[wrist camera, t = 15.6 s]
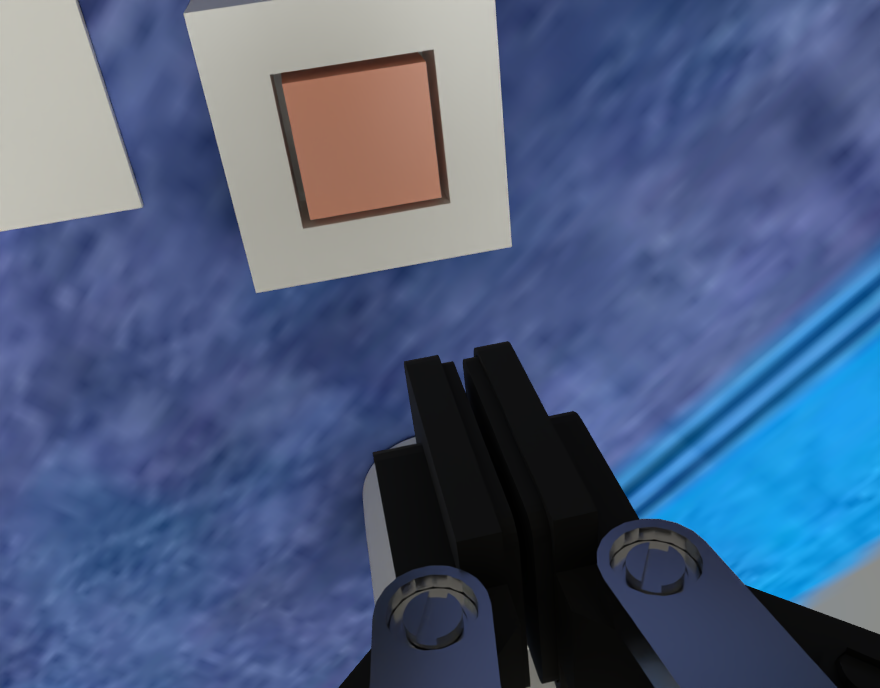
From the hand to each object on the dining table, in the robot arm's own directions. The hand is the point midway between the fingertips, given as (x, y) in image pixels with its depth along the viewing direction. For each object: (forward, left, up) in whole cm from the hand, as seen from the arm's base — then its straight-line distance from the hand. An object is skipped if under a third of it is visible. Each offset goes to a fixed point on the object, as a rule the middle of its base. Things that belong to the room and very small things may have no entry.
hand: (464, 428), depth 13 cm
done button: (0, 0, -17) cm, 18 cm away
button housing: (0, 0, -19) cm, 19 cm away
